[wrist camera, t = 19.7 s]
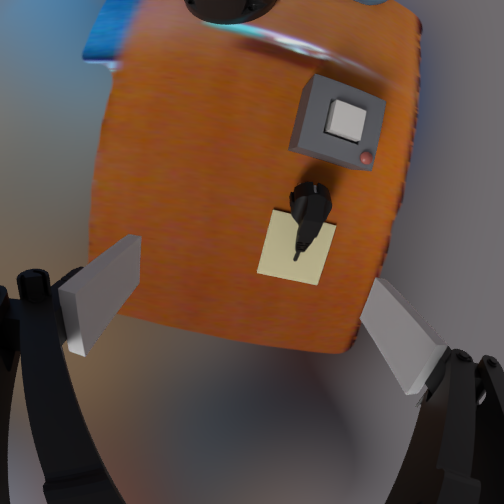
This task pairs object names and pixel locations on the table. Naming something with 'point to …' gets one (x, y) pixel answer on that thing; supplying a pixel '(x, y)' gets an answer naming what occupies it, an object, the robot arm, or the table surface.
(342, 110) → the button
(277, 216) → the pad
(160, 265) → the table surface
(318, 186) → the power plug
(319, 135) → the switch box
